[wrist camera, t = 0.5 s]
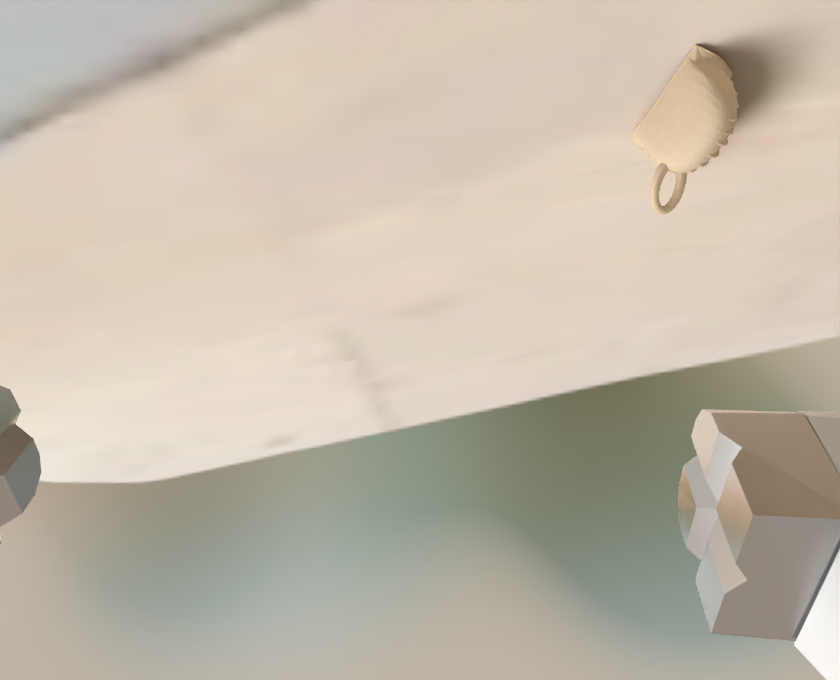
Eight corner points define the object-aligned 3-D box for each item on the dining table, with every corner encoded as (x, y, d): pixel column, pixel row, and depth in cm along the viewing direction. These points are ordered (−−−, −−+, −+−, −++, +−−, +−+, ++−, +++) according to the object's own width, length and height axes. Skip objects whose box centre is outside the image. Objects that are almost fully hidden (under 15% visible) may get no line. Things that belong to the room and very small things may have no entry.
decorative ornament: (752, 73, 43) (775, 108, 38) (662, 183, 48) (674, 224, 44) (697, 40, 42) (714, 73, 38) (612, 155, 47) (619, 194, 43)
